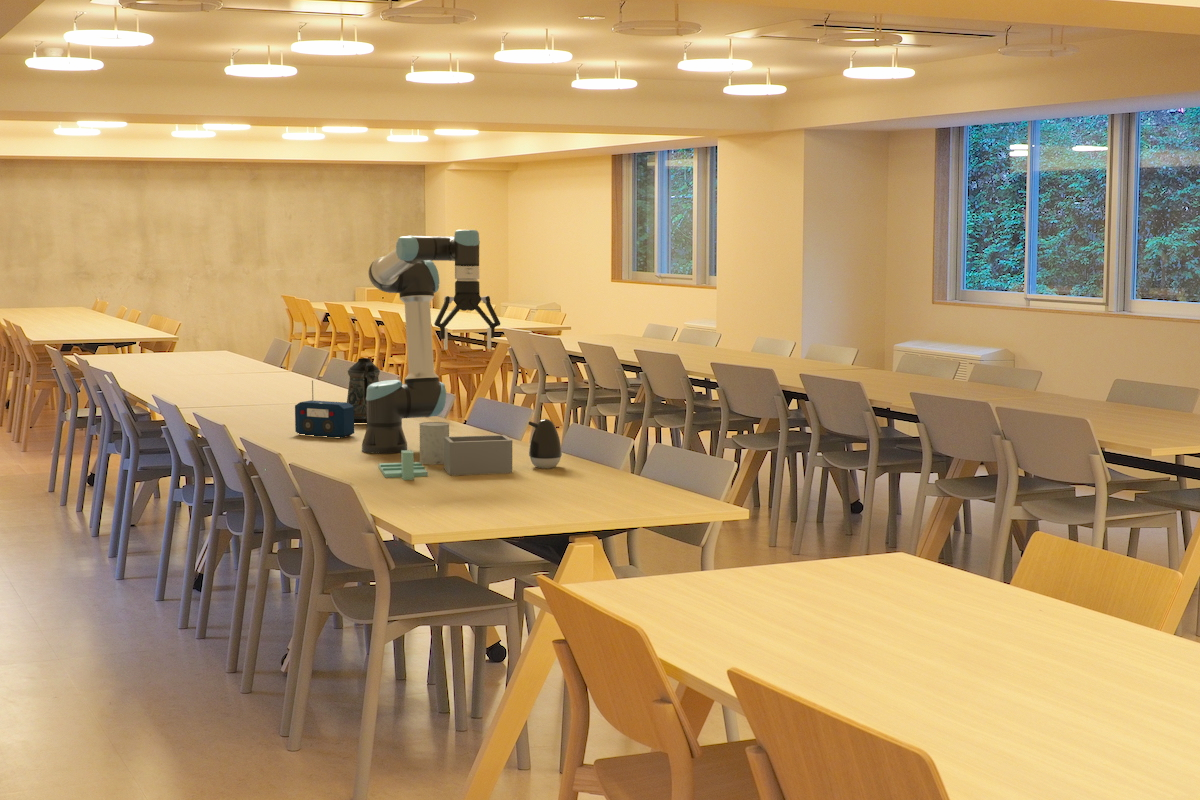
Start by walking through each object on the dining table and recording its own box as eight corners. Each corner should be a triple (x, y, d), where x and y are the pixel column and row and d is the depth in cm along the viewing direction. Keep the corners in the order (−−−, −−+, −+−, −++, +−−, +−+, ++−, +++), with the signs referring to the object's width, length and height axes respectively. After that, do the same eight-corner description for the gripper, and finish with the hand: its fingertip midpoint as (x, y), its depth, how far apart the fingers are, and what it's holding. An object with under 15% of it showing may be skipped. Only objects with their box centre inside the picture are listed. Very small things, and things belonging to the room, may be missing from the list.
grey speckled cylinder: (444, 464, 404) (443, 426, 403) (415, 463, 406) (414, 425, 405) (453, 460, 414) (453, 422, 412) (425, 459, 416) (425, 421, 414)
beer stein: (365, 418, 515) (364, 356, 512) (400, 422, 504) (399, 358, 501) (334, 422, 502) (333, 358, 499) (369, 426, 490) (368, 361, 488)
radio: (293, 435, 466) (292, 381, 463) (307, 432, 474) (306, 378, 471) (342, 439, 458) (341, 383, 455) (355, 436, 466) (354, 381, 463)
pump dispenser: (529, 464, 406) (529, 416, 404) (562, 464, 406) (562, 416, 405) (527, 469, 396) (527, 421, 394) (561, 470, 396) (561, 421, 394)
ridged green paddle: (387, 480, 376) (386, 453, 375) (378, 467, 400) (378, 441, 399) (430, 478, 379) (429, 452, 378) (419, 465, 403) (418, 440, 402)
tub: (444, 468, 397) (444, 436, 396) (504, 466, 402) (504, 434, 401) (450, 475, 385) (450, 442, 384) (512, 472, 390) (512, 440, 389)
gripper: (428, 280, 388) (429, 350, 391) (509, 280, 395) (509, 349, 397) (425, 280, 395) (425, 348, 398) (504, 280, 402) (504, 347, 404)
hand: (467, 349), depth 398 cm, fingers open, 13 cm apart
